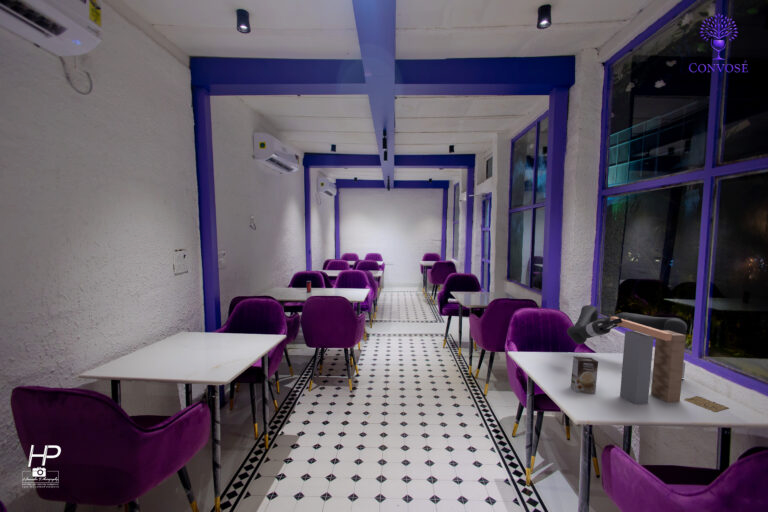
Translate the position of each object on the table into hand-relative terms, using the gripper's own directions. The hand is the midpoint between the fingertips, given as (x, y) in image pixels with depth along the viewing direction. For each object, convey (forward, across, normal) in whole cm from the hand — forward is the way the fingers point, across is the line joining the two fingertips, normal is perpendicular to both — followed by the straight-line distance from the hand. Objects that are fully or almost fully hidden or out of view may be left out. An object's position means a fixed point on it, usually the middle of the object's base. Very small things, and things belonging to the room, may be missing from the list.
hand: (624, 320), depth 162 cm
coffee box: (-21, +17, -30) cm, 41 cm away
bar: (+5, 0, -6) cm, 8 cm away
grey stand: (-10, 0, -36) cm, 37 cm away
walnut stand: (-10, -18, -36) cm, 41 cm away
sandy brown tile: (-4, -32, -40) cm, 51 cm away
